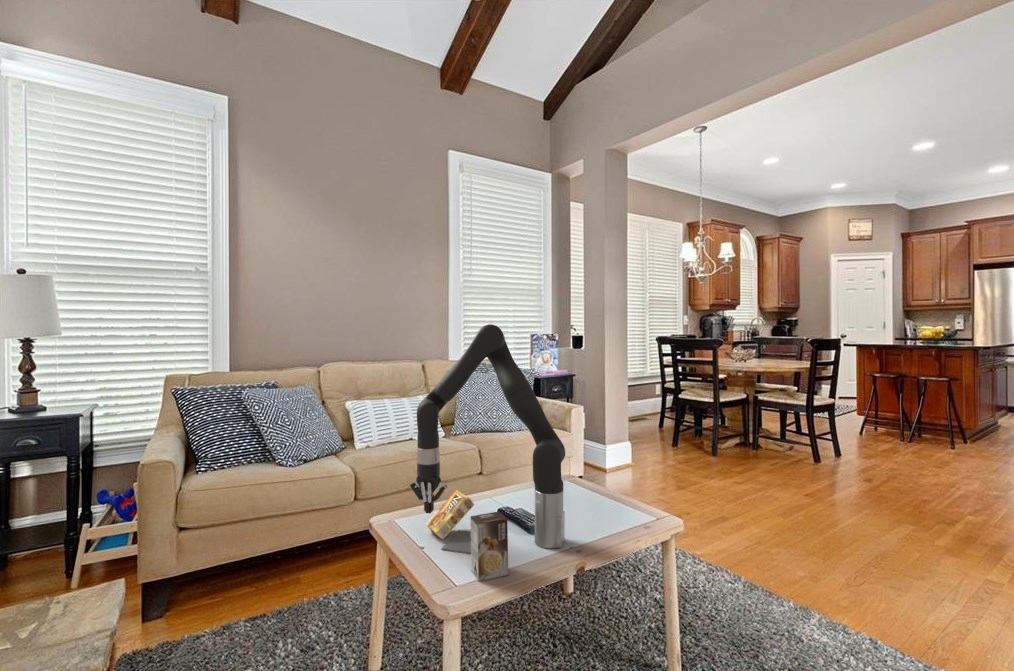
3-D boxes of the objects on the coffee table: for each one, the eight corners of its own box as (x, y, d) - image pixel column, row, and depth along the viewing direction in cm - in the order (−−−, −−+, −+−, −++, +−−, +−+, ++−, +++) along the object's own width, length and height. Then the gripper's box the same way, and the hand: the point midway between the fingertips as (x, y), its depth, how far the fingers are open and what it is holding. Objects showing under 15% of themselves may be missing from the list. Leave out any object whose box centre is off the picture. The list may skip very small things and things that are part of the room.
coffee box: (499, 565, 140) (499, 510, 140) (508, 575, 134) (508, 518, 134) (470, 571, 136) (470, 515, 136) (477, 582, 131) (477, 524, 130)
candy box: (442, 541, 156) (475, 505, 162) (435, 532, 154) (468, 496, 161) (431, 531, 163) (463, 497, 170) (424, 523, 162) (456, 489, 168)
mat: (500, 537, 158) (500, 535, 158) (486, 556, 145) (486, 555, 145) (458, 531, 163) (458, 530, 163) (441, 549, 150) (441, 548, 150)
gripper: (451, 458, 160) (451, 510, 160) (415, 456, 164) (416, 506, 164) (441, 465, 153) (442, 519, 153) (404, 462, 156) (405, 514, 157)
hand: (428, 512), depth 158 cm, fingers closed
